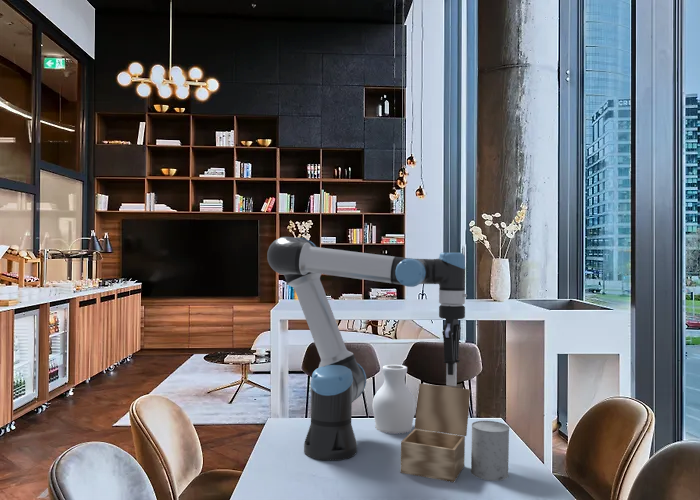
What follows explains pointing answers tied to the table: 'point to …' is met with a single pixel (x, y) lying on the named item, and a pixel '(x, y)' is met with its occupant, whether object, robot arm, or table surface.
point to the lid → (442, 409)
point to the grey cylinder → (490, 450)
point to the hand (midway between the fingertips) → (451, 385)
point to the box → (433, 455)
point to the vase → (394, 402)
